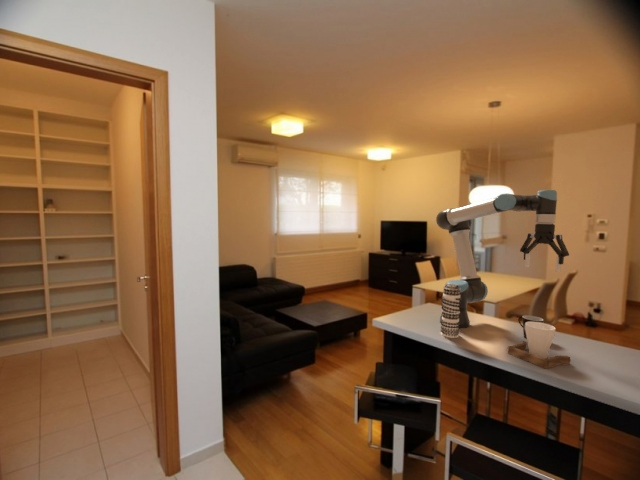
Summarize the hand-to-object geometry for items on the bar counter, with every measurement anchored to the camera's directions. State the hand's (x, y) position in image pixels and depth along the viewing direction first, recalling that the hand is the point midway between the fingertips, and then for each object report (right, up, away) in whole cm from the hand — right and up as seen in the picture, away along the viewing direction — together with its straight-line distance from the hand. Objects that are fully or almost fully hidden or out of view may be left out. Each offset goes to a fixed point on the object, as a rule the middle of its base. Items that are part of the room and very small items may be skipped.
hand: (542, 269), depth 150 cm
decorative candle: (-40, -34, +9) cm, 53 cm away
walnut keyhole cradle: (-14, -36, -17) cm, 42 cm away
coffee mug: (0, -35, +8) cm, 35 cm away
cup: (-13, -36, -16) cm, 41 cm away
